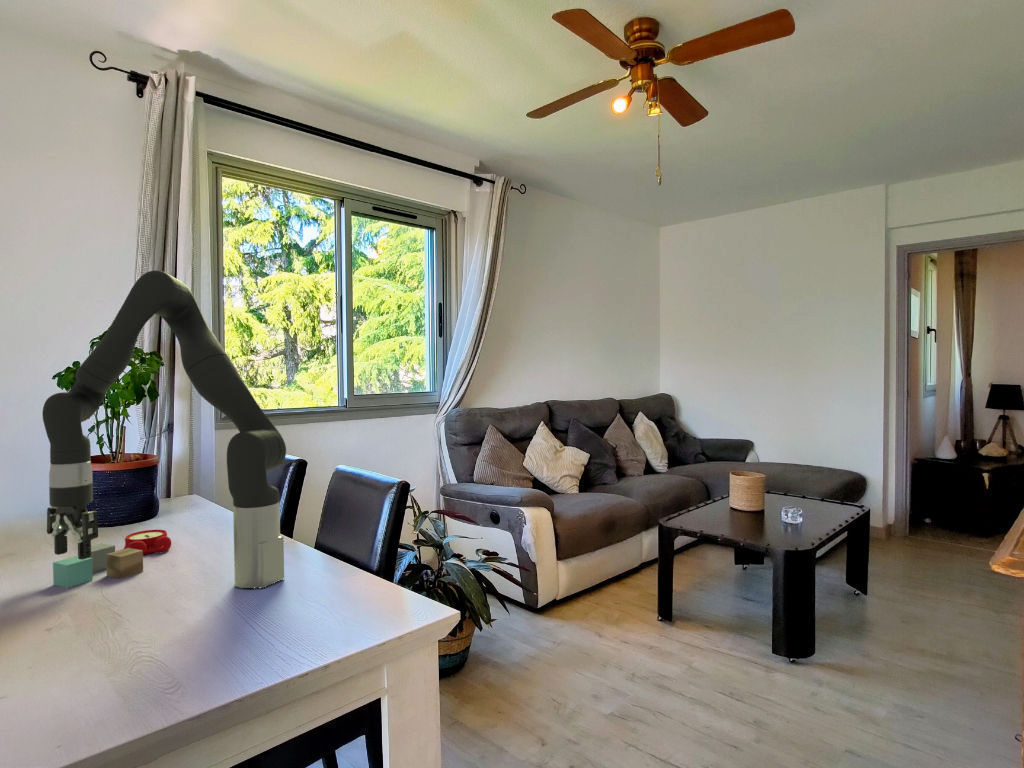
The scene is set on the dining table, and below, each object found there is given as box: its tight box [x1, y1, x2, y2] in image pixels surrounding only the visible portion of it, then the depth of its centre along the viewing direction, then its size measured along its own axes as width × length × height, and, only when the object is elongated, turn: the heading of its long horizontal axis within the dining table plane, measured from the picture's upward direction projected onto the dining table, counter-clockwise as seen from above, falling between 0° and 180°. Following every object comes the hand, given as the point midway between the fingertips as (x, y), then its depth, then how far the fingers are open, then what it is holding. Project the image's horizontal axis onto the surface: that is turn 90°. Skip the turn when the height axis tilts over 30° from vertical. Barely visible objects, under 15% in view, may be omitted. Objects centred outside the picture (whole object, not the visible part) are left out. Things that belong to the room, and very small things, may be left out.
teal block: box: [52, 555, 94, 589], centre depth 124 cm, size 5×5×5 cm
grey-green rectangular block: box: [89, 542, 116, 574], centre depth 134 cm, size 5×5×5 cm
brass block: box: [106, 548, 144, 580], centre depth 130 cm, size 5×5×5 cm
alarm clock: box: [123, 529, 172, 556], centre depth 147 cm, size 10×6×15 cm
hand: (72, 556), depth 124 cm, fingers open, 8 cm apart
